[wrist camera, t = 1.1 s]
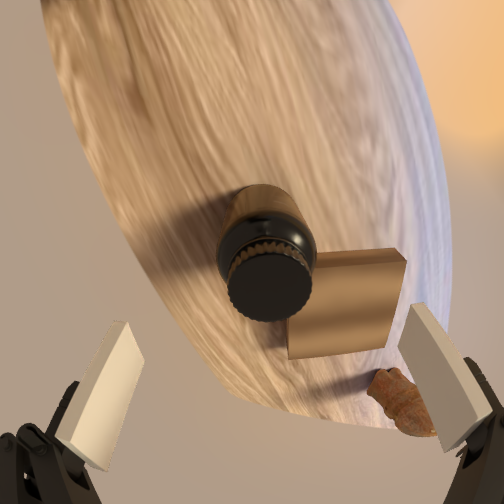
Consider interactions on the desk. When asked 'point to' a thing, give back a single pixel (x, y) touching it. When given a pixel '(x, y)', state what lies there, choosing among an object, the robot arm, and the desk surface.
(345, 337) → the pedestal
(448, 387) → the robot arm
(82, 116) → the desk surface
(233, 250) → the supplement bottle
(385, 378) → the figurine
